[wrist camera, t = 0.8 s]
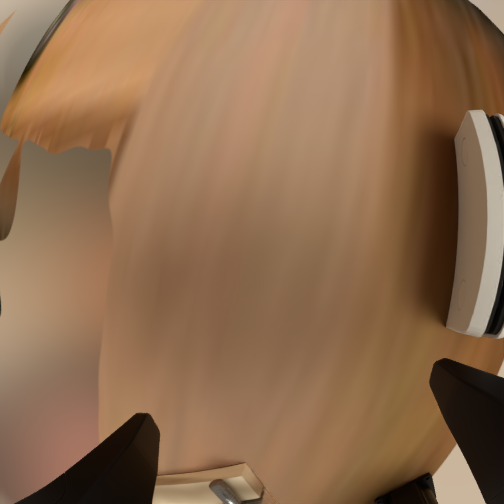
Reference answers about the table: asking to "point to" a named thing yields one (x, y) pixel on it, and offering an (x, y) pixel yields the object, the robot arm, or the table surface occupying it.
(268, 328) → the table surface
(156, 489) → the pine board
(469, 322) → the white rounded piece
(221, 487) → the marking gauge
